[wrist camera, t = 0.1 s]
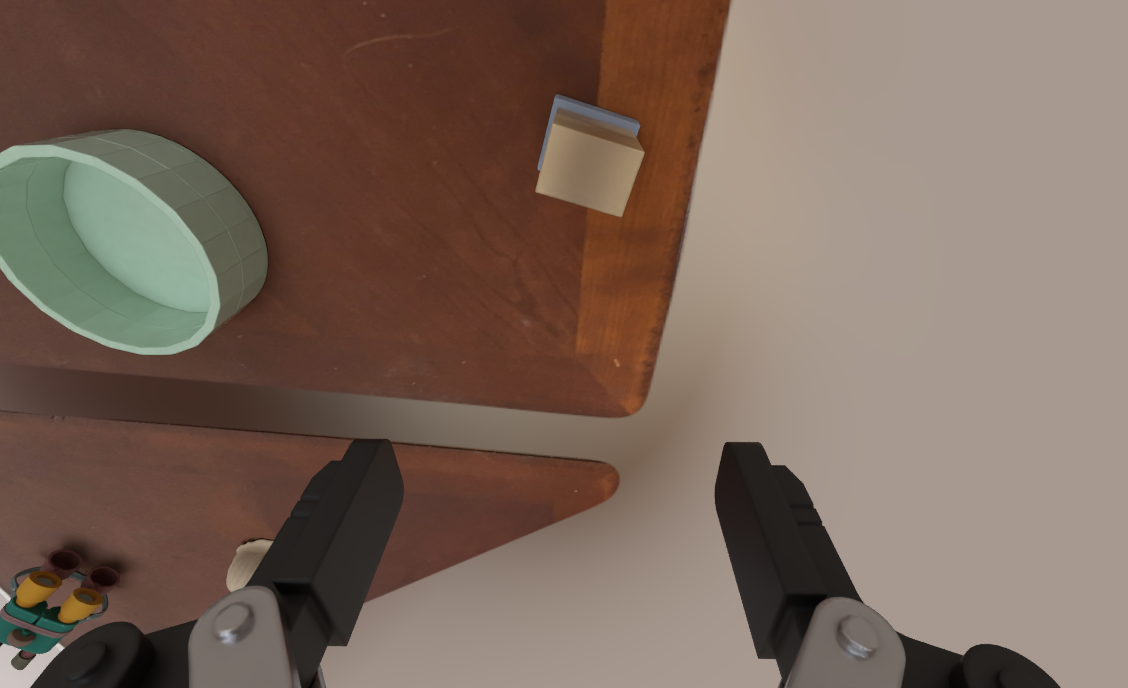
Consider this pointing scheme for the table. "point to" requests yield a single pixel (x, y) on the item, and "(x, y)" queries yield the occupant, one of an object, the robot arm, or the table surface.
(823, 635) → the robot arm
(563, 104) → the eraser
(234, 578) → the decorative ornament
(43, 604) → the binoculars
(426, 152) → the table surface
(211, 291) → the bowl
